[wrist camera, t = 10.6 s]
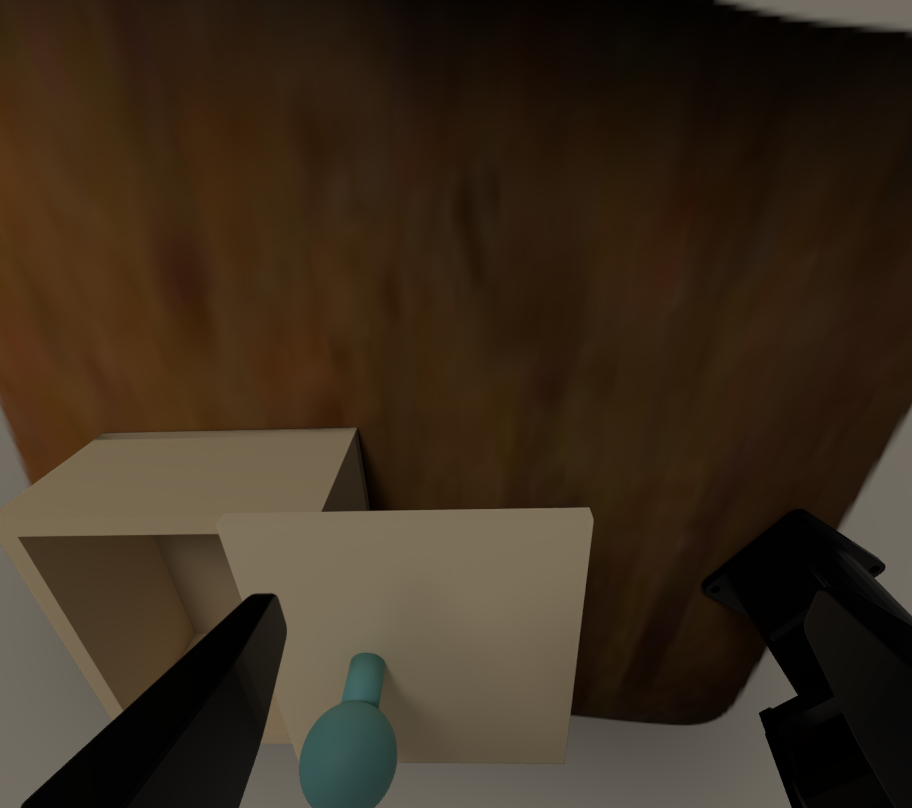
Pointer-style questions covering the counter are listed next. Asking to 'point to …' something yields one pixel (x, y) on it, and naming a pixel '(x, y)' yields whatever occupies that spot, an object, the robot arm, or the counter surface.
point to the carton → (162, 540)
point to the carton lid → (418, 636)
